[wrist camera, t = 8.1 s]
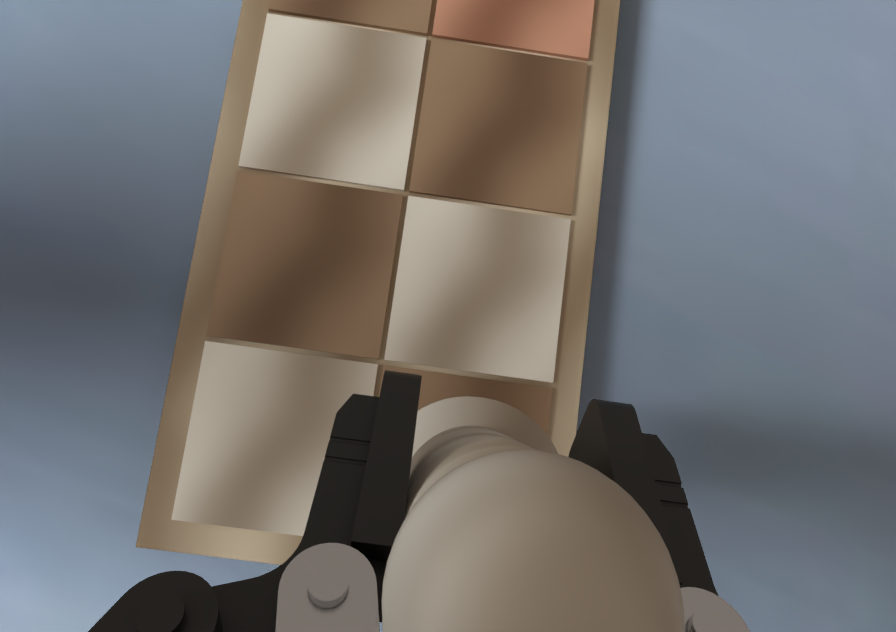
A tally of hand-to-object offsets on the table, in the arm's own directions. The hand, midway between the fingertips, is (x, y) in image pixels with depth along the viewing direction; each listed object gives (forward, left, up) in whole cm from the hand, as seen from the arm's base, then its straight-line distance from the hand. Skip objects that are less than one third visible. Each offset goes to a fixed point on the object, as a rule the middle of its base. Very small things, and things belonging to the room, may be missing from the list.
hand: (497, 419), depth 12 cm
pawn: (0, -2, -4) cm, 5 cm away
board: (-3, +8, -12) cm, 14 cm away
